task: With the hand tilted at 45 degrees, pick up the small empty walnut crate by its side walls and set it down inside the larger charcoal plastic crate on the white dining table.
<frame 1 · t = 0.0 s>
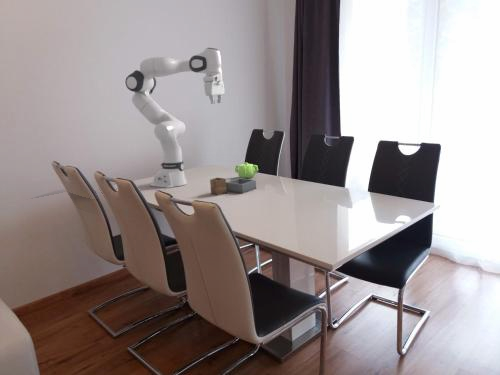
hand: (216, 103, 232), 48 cm above the table, fingers open, 8 cm apart
walnut crate: (218, 193, 226), on the table
teapot: (247, 178, 262), on the table
charcoal crate: (241, 189, 231), on the table
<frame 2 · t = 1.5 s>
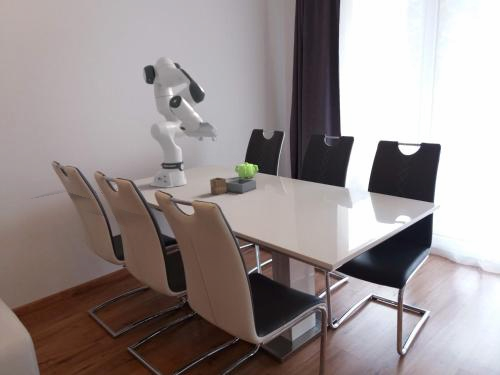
hand: (208, 140, 214), 30 cm above the table, fingers open, 8 cm apart
nothing on the table moved.
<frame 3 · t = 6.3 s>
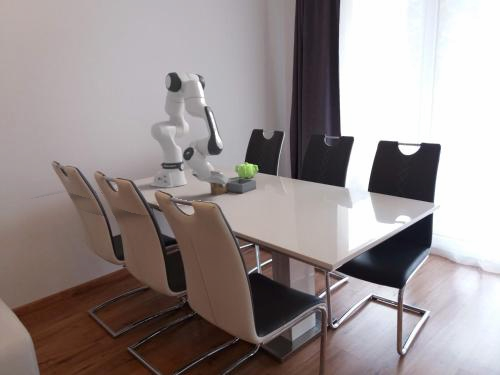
hand: (219, 184, 225), 5 cm above the table, fingers closed on walnut crate, 6 cm apart
walnut crate: (218, 193, 226), on the table, touching gripper
everything else where it was.
when the fingers open (7 cm above the table, at t = 12.0 s): walnut crate drops 2 cm, resting on charcoal crate.
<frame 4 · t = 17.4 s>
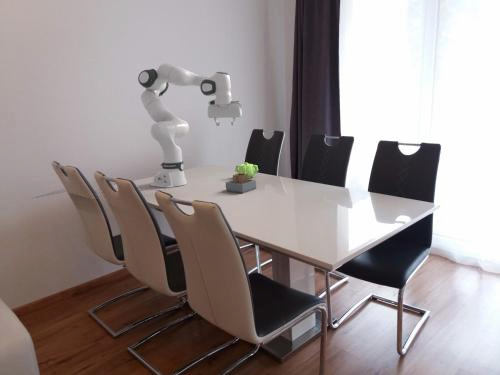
hand: (225, 125, 238), 35 cm above the table, fingers open, 8 cm apart
walnut crate: (241, 188, 231), point 1 cm above the table, touching charcoal crate
everything else where it was.
at the end: walnut crate 0.1 cm off-centre on the charcoal crate, point 0.8 cm above the charcoal crate's base; walnut crate tilted 0°; the gripper is holding nothing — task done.
